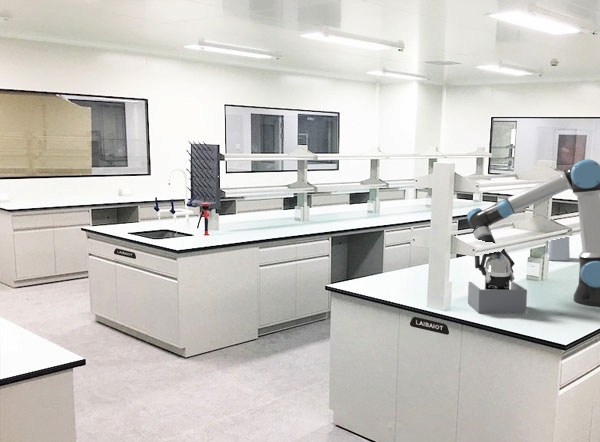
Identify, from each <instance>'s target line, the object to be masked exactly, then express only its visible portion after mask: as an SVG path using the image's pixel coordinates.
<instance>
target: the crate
mask: <svg viewBox="0 0 600 442" xmlns="http://www.w3.org/2000/svg"><path fill="white" fill-rule="evenodd" d="M467 285H468V286H467V289H468V292H467V304H468V305H469V306H470V307H471V308H472V309H473V310H474V311H475V312H476V313H478V314H526V313H527V300H528V297H527V296H528V290H527V289H526V288H524V287H523V286H522V285H519V284H518V283H516V282H514V281H512V282H510V288H509V289H485V288H483V289H481V288H480V287H479V286H477V284H475V283H473V282H472V281H468V284H467Z"/></svg>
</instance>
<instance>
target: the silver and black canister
mask: <svg viewBox="0 0 600 442" xmlns="http://www.w3.org/2000/svg"><path fill="white" fill-rule="evenodd" d="M485 267H487V270H488V272H489V275H490V278H491V280H490V282H489V283H487V281H486V278H484V279H485V280H484V283H485V284H484V289H510V284H511V282H510V262H509V260H508V258H507V257H506V256H504V255H503V254H502V253H501V252H499V251H498V252H496V253H495V254H493V255H492V256H490V257H487V259H486V261H485Z"/></svg>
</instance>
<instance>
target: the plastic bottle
mask: <svg viewBox="0 0 600 442" xmlns="http://www.w3.org/2000/svg"><path fill="white" fill-rule="evenodd" d="M552 216H561V214H560V215H557V214H556V215H555V214H554V215H552ZM570 253H571V252H570V236H569V237H565V238H560V239H556V240H551V241H550V242H549V248H548V255H549V260H553V261H552V262H568V261H570V255H571V254H570ZM549 260H548V261H549Z"/></svg>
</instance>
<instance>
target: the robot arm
mask: <svg viewBox="0 0 600 442" xmlns="http://www.w3.org/2000/svg"><path fill="white" fill-rule="evenodd" d="M531 187H532V188H531ZM531 187H529V188H530V189H529V188H527V189H525V190H523V191H520V192H518V193H516V194H514V195H511V196H509V197H507V198H504V199H502V200H499V201H497V202H495V203H494V204H493V205H491V206H489V207H487V208H485V209H481V208H478V207H477V208H472V209H471V210H469V211H468V213H467V214H466V215H467V216H466V218H467V221H468V224H469V226H470V229H471V230H472V229H474V230H473V231H472V234H473V236H474V239H475V238H476V239H478V240H482V241H485V242H493V243H495V244H496V240H495V239H494V236H493V233H492V231H491V228H490V226H491V225H494V224H496V223H498V222H500V221H502V220H505V219H507V218H509V217H510V216H512V215H513V214H514V213H516V212H519V211H521V210H523V209H526V208H528V207H530V206H532V205H535V204H537V203H540V202H542V201H545V200H546V199H549V198H551V197H554V196H555V195H558V194H560V193H563V192H565V191H568V190H570V191H572V193H573V194H574V195H575V196H576V197H577V198H576V199H577V209H578V217H579V227H580V229H579V230H580V231H579V232H580V238H581V239H580V241H581V252H580V254H579V255H578V260H579V271H578V285H577V287H576V289H575V292H574V294H573V301H574V302H575V303H577V304H581V305H586V306H593V307H600V163H599V162H597V161H596V160H593V159H587V158H586V159H581V160H579V161H576V163H574V164H573V165H571V166H570V167H568V168H566V169H563V170H562V171H561V173H560V174H557V175H556V176H553V177H551V178H549V179H547V180H545V181H542V182H540V183H538V184H536V186H535V185H534V187H533V186H531ZM476 239H475V240H476ZM505 249H506V248H504V249H503V250H502V251H501V253H502V254H503V255H504V256H506V257H507V258H508V260H509V262H510V283H511V282H514V280H515V279H516V278H515V275H514V269H513V267H514V265H515V264H516V263H515V262H514V260H513V259H512V258H511V256H510V255H509V254H508V253H507V251H506V250H505ZM495 253H496V252H494V253H489V254H484V255H483V254H482V258H481V257H480V256H475V255H474V265H475V266H474V268H475V269H478V270H479V271H480V273H481V274H482V276H484V277H485V278H486V281H487V283H489V282H490V280H491V278H490V275H489V272H488V270H487V267H486V261H487V259H488V258H489V257H490V256H492V255H493V254H495ZM480 258H481V259H480ZM485 278H484V279H485Z"/></svg>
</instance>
